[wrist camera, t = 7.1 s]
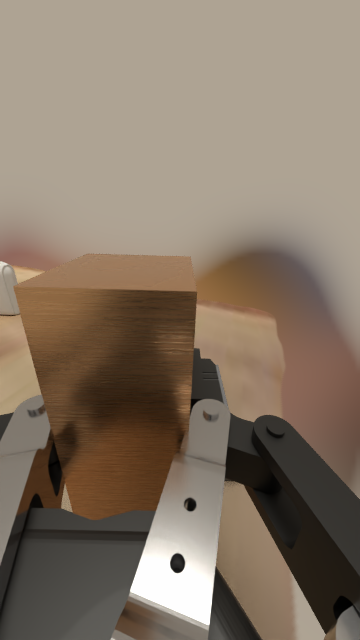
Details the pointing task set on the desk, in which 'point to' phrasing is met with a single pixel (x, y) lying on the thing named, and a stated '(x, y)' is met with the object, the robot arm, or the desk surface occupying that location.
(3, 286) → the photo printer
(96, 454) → the bracket post
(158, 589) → the robot arm
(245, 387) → the desk surface
